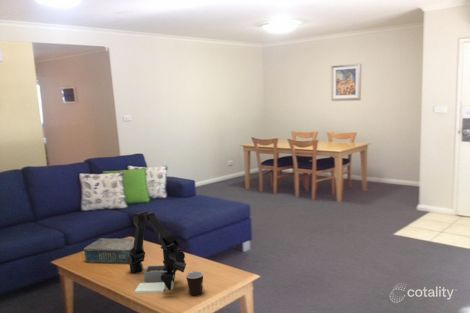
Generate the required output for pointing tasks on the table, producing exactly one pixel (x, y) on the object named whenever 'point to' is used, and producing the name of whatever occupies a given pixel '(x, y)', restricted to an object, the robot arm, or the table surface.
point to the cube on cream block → (152, 287)
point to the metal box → (109, 251)
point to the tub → (153, 273)
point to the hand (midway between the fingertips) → (171, 285)
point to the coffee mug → (195, 283)
